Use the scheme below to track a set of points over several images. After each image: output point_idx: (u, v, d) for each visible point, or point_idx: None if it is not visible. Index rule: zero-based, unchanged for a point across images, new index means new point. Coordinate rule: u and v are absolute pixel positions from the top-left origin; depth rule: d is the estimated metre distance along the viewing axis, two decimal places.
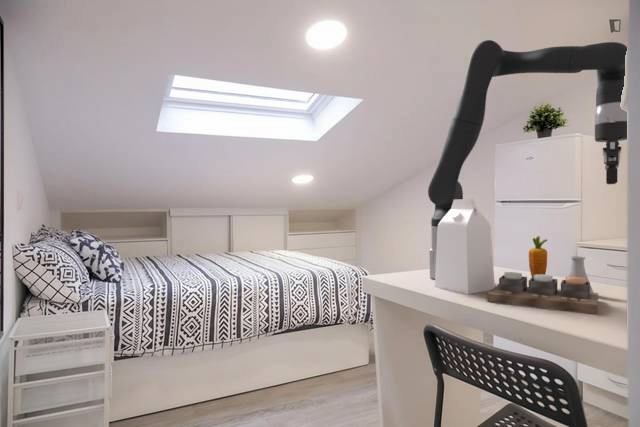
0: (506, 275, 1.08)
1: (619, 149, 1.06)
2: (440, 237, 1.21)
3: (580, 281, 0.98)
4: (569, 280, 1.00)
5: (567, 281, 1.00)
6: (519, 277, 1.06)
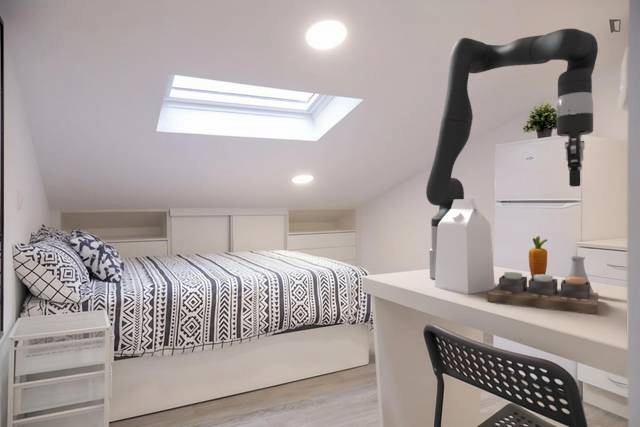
0: (506, 275, 1.08)
1: (582, 146, 0.97)
2: (440, 237, 1.21)
3: (580, 281, 0.98)
4: (569, 280, 1.00)
5: (567, 281, 1.00)
6: (519, 277, 1.06)
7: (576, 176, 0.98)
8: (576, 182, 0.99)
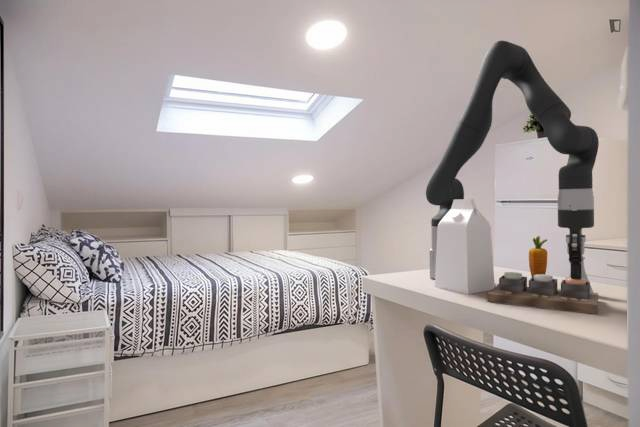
0: (506, 275, 1.08)
1: (583, 241, 0.98)
2: (440, 237, 1.21)
3: (580, 282, 0.98)
4: (569, 281, 1.00)
5: (567, 282, 1.00)
6: (519, 277, 1.06)
7: (577, 270, 0.99)
8: (577, 276, 0.99)
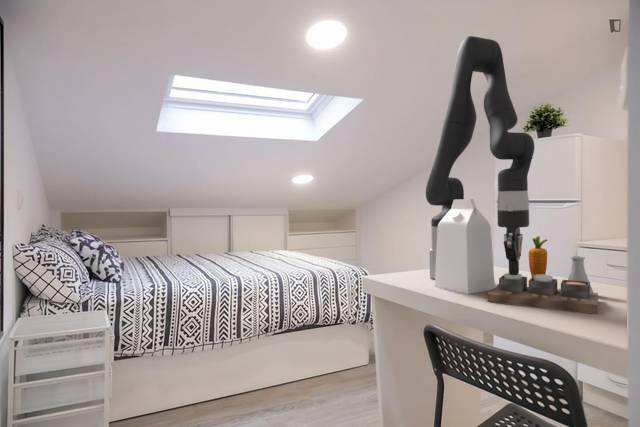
0: (506, 276, 1.08)
1: (518, 240, 1.06)
2: (440, 237, 1.21)
3: None
4: None
5: None
6: (519, 278, 1.06)
7: (514, 266, 1.07)
8: (514, 272, 1.07)
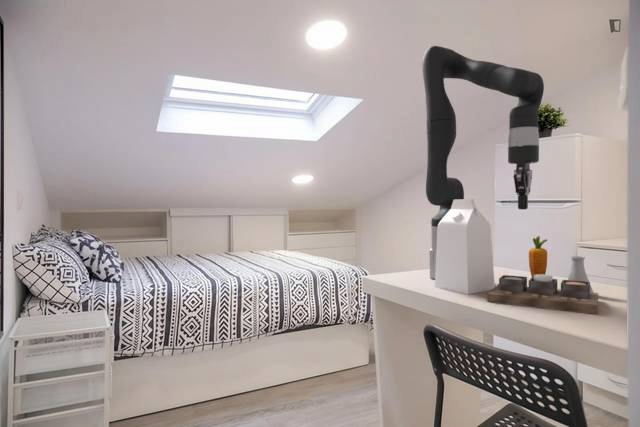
0: None
1: (528, 174, 1.10)
2: (440, 237, 1.21)
3: None
4: None
5: None
6: None
7: (523, 200, 1.11)
8: (523, 206, 1.11)
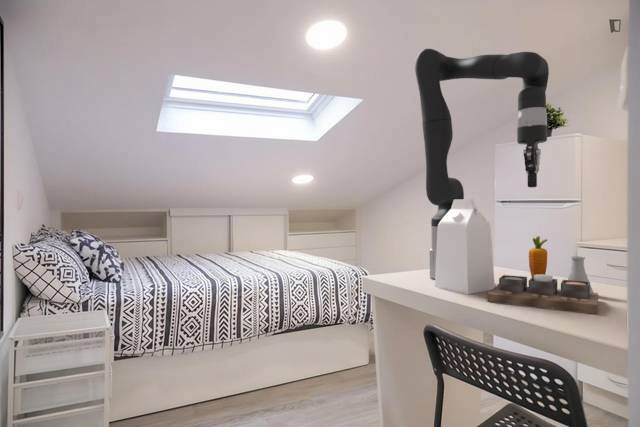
0: None
1: (537, 153, 1.14)
2: (440, 237, 1.21)
3: None
4: None
5: None
6: None
7: (533, 178, 1.15)
8: (533, 183, 1.15)
